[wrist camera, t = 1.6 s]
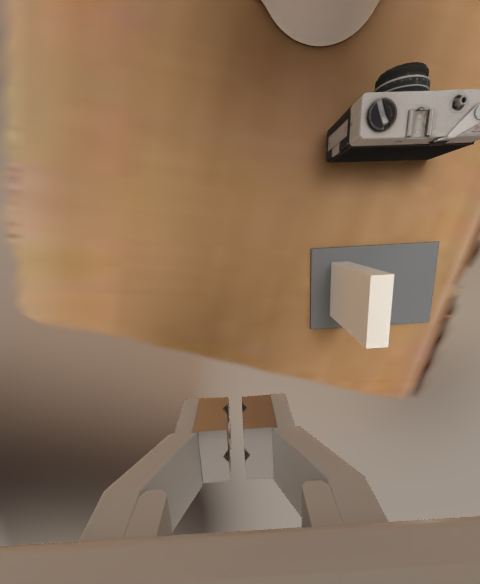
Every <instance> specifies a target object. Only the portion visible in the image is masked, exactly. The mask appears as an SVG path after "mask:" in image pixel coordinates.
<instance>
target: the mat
mask: <svg viewBox="0 0 480 584" xmlns="http://www.w3.org/2000/svg"><path fill="white" fill-rule="evenodd" d="M438 248H439V242H423V243H405V244H388V245H370V246H353V247H335V248H318V249H311V297H310V329H324V328H341V327H342V326H341V325H340V324H338V323H337V322H336V321H335V320H334V319H333V318H332V317H331V316H330V289H331V262H343V261H349V262H353V263H356V264H360V265H363V266H367V267H370V268H374V269H378V270H381V271H385V272H388V273H392V274H394V285H393V296H392V308H391V320H390V325H391V324H408V323H425V322H429V320H430V312H431V304H432V296H433V288H434V280H435V272H436V264H437V256H438Z"/></svg>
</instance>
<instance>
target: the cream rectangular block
mask: <svg viewBox="0 0 480 584" xmlns="http://www.w3.org/2000/svg"><path fill="white" fill-rule="evenodd" d="M393 285H394V274H392V273H388V272H385V271H381V270H378V269H374V268H370V267H367V266H363V265H360V264H356V263H353V262H349V261H343V262H331V289H330V316H331V317H332V318H333V319H334V320H335V321H336V322H337V323H338V324H340V325H341V326H342V327H343V328H344V329H345V330H346V331H347V332H348V333H350V334H351V335H352V336H353V337H354V338H355V339H356V340H357V341H358V342H359V343H361V344H362V345H363V346H364V347H365V348H382V347H388V343H389V331H390V320H391V308H392V296H393Z"/></svg>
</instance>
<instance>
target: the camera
mask: <svg viewBox="0 0 480 584" xmlns="http://www.w3.org/2000/svg"><path fill="white" fill-rule="evenodd" d="M428 75H429V69H428V68H427V66H426V65H425V64H424V63H419V62H412V63H406V64H402V65H399V66H396V67H394V68H392V69H390V70H387V71H386V72H385V73H383V74H382V75H381V76H380V77H379V78H378V80H377V82H376V84H375V91H374V92H367V93H365V94H363V95H362V96H361V97H360V98H359V99H358V100H357V101H356V102H355V103H354V104H353V105H352V106H351V107H350V108H349V109H348V110H347V111H346V112H345V113H344V114H343V116H342V117H341V118H340V119H339V120H338V121H337V122H336V123H335V124H334V125H333V126H332V127H331V128H330V129H329V130H328V134H327V152H326V161H328V162H361V161H395V160H428V159H431V158H434V157H437V156H440V155H443V154H445V153H448V152H451V151H454V150H457V149H460V148H462V147H465V146H468V145H471V144H474V141H476V140H479V139H480V89H468V90H439V91H430V90H429V87H430V78H429V77H428Z"/></svg>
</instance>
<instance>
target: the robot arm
mask: <svg viewBox="0 0 480 584" xmlns="http://www.w3.org/2000/svg"><path fill="white" fill-rule="evenodd" d="M261 1H262V2H263V4H264V5H265V7H266V8H267V10H268V12H269V14H270V15H271V17H272V19H273V20H274V22H275V23H276V24H277V25H278V26H279V28H280V29H281V30H282V31H283V32H284V33H286V34H287V35H288V36H290V37H291V38H293V39H294V40H296V41H298V42H301V43H303V44H307V45H312V46H328V45H332V44H336V43H339V42H341V41H343V40H345V39H347V38H349V37H350V36H352V35H353V34H354V33H356V32H357V31H358V30H359V29H360V28H361V27H362V26H363V25H364V24H365V23H366V21H367V20H368V19H369V18H370V16H371V15H372V13H373V11H374V10H375V8H376V6H377V4H378V3H379V1H380V0H261ZM242 411H243V431H244V449H245V467H246V479H247V480H249V479H274V481H275V482H276V484H277V485H278V486H279V488H280V489H281V490H282V492H283V493H284V494H285V496H286V497H287V499H288V500H289V501H290V502H291V504H292V505H293V506H294V508H295V509H296V511H297V512H298V513H299V515H300V516H301V517H302V527H301V528H283V529H268V530H253V531H252V530H251V531H237V532H236V531H235V532H219V533H205V534H204V533H203V534H187V535H173V533H172V531H173V530H174V528H175V527H176V525H177V524H178V522H179V521H180V519H181V518H182V516H183V514H184V513H185V511H186V510H187V508H188V507H189V505H190V504H191V502H192V501H193V499H194V498H195V496H196V495H197V493H198V492H199V490H200V488H201V486H202V485H203V483H210V482H220V481H230V472H231V470H230V469H231V457H230V450H231V428H230V427H231V425H230V418H229V400H228V398H227V397H224V398H201V399H199V398H198V399H186V400H185V401H184V403H183V406H182V409H181V413H180V416H179V419H178V423H177V426H176V430H175V433H174V434H169V435H168V436H167V437H166V438H165V439H164V440H162V441H161V442H160V443H159V444H158V445H157V446H155V447H154V448H153V449H152V450H151V451H150V452H149V453H147V454H146V455H145V456H144V457H143V458H142V459H141V460H139V462H137V463H136V464H135V465H134V466H133V467H131V468H130V469H129V470H128V471H127V472H126V473H125V474H124V475H122V476H121V477H120V478H119V479H118V480H117V481H116V482H114V483H113V484H112V485H111V486H110V487H109V488H107V489H106V490H105V491H104V492H103V494H102V496H101V498H100V500H99V502H98V504H97V506H96V508H95V510H94V512H93V514H92V516H91V518H90V520H89V522H88V524H87V526H86V528H85V530H84V532H83V534H82V536H81V538H80V540H79V541H77V542H60V543H44V544H28V545H12V546H0V584H480V516H478V517H477V516H476V517H460V518H444V519H429V520H413V521H397V522H388V520H387V518H386V516H385V514H384V512H383V510H382V508H381V507H380V505H379V503H378V501H377V499H376V497H375V495H374V493H373V491H372V490H371V487H370V485H369V484H368V482H367V480H366V478H365V476H364V475H362V474H361V473H360V472H358V471H357V470H356V469H355V468H353V467H352V466H351V465H349V464H348V463H347V462H345V461H344V460H343V459H341V458H340V457H339V456H338V455H336V454H335V453H334V452H333V451H331V450H330V449H329V448H327V447H326V446H325V445H323V444H322V443H321V442H319V441H318V440H317V439H316V438H314V437H313V436H312V435H310V434H309V433H308V432H307V431H305V430H304V429H303V428H301V427H300V426H295V424H294V421H293V417H292V414H291V411H290V408H289V405H288V401H287V398H286V395H285V394H284V393H281V394H270V395H262V396H248V397H242Z"/></svg>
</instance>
